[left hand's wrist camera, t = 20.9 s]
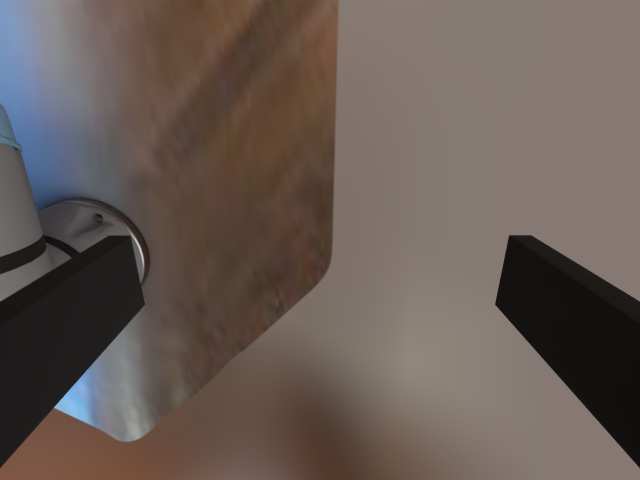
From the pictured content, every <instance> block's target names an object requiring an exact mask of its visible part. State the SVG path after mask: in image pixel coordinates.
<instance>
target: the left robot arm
mask: <svg viewBox="0 0 640 480" xmlns="http://www.w3.org/2000/svg"><path fill="white" fill-rule="evenodd" d="M21 151H22V147H21V146H20V144H18V143H17V142H16V139H15V136H14V133H13V130H12V127H11V124H10V121H9V118H8V116H7V113H6V111H5V109H4V107H3V106H2V105H1V104H0V468H1V467H2V465H3V464H4V463H5V462H6V461H7V460H8V459H9V457H10V456H11V455H12V454H13V453H14V452H15V451H16V450H17V448H18V447H19V446H20V445H21V444H22V443H23V442H24V441H25V439H26V438H27V437H28V436H29V435H30V434H31V433H32V432H33V430H34V429H35V428H36V427H37V426H38V425H39V424H40V422H41V421H42V420H43V419H44V418H45V417H46V416H47V415H48V413H49V412H50V411H51V410H52V409H53V408H54V407H55V406H56V404H57V403H58V402H59V401H60V400H61V399H62V398H63V397H64V395H65V394H66V393H67V392H68V391H69V390H70V389H71V387H72V386H73V385H74V384H75V383H76V382H77V381H78V380H79V378H80V377H81V376H82V375H83V374H84V373H85V372H86V371H87V369H88V368H89V367H90V366H91V365H92V364H93V363H94V361H95V360H96V359H97V358H98V357H99V356H100V355H101V354H102V352H103V351H104V350H105V349H106V348H107V347H108V346H109V345H110V343H111V342H112V341H113V340H114V339H115V338H116V337H117V335H118V334H119V333H120V332H121V331H122V330H123V329H124V328H125V326H126V325H127V324H128V323H129V322H130V321H131V320H132V319H133V317H134V316H135V315H136V314H137V313H138V312H139V311H140V309H141V308H142V307H143V306H144V305H145V303H144V298H143V293H142V288H141V286H142V284H143V283H144V281H145V279H146V277H147V275H148V271H149V252H148V248H147V245H146V243H145V240H144V238H143V236H142V234H141V233H140V231H139V230H138V229H137V227H136V226H135V225H134V224H133V223H132V221H131V220H130V219H128V218H127V217H126V216H125V215H124V214H123V213H121V212H120V211H118V210H117V209H115V208H113V207H111V206H109V205H107V204H105V203H102V202H100V201H96V200H92V199H85V198H73V199H67V200H63V201H60V202H57V203H54V204H51V205H49V206H47V207H45V208H43V209H41V210H40V211H38V212H37V210H36V206H35V202H34V199H33V195H32V192H31V188H30V184H29V181H28V177H27V174H26V170H25V166H24V163H23V159H22V156H21ZM495 305H496V306H497V307H498V308H499V309H500V311H501V312H502V313H503V314H504V315H505V316H506V317H507V318H508V320H509V321H510V322H511V323H512V324H513V325H514V326H515V328H516V329H517V330H518V331H519V332H520V333H521V334H522V335H523V337H524V338H525V339H526V340H527V341H528V342H529V343H530V344H531V346H532V347H533V348H534V349H535V350H536V351H537V352H538V353H539V355H540V356H541V357H542V358H543V359H544V360H545V361H546V363H547V364H548V365H549V366H550V367H551V368H552V369H553V371H554V372H555V373H556V374H557V375H558V376H559V377H560V378H561V380H562V381H563V382H564V383H565V384H566V385H567V386H568V387H569V389H570V390H571V391H572V392H573V393H574V394H575V395H576V396H577V398H578V399H579V400H580V401H581V402H582V403H583V404H584V405H585V407H586V408H587V409H588V410H589V411H590V412H591V413H592V415H593V416H594V417H595V418H596V419H597V420H598V421H599V422H600V424H601V425H602V426H603V427H604V428H605V429H606V430H607V431H608V433H609V434H610V435H611V436H612V437H613V438H614V439H615V441H616V442H617V443H618V444H619V445H620V446H621V447H622V448H623V450H624V451H625V452H626V453H627V454H628V455H629V456H630V458H631V459H632V460H633V461H634V462H635V463H636V464H637V465H638V467H639V468H640V301H638V300H636V299H635V298H633V297H631V296H630V295H628V294H627V293H625V292H623V291H622V290H620V289H618V288H617V287H615V286H613V285H612V284H610V283H608V282H607V281H605V280H604V279H602V278H600V277H599V276H597V275H595V274H594V273H592V272H590V271H589V270H587V269H585V268H584V267H582V266H581V265H579V264H577V263H576V262H574V261H572V260H571V259H569V258H567V257H566V256H564V255H562V254H561V253H559V252H558V251H556V250H554V249H553V248H551V247H549V246H548V245H546V244H544V243H543V242H541V241H540V240H538V239H536V238H535V237H533V236H531V235H510V236H509V239H508V244H507V249H506V254H505V258H504V263H503V268H502V273H501V278H500V283H499V288H498V293H497V298H496V303H495Z"/></svg>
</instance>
